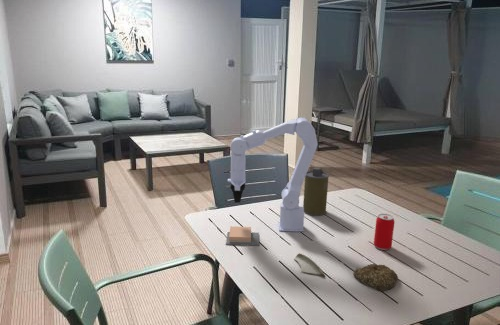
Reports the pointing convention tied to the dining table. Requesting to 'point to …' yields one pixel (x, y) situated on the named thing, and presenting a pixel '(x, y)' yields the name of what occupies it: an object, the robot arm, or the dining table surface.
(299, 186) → the robot arm
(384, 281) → the mossy rock
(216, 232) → the dining table surface
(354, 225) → the dining table surface
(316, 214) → the canister
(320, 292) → the dining table surface
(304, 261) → the ceramic fragment
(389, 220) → the beverage can
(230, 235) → the peach green flat block
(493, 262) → the dining table surface
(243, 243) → the mat
